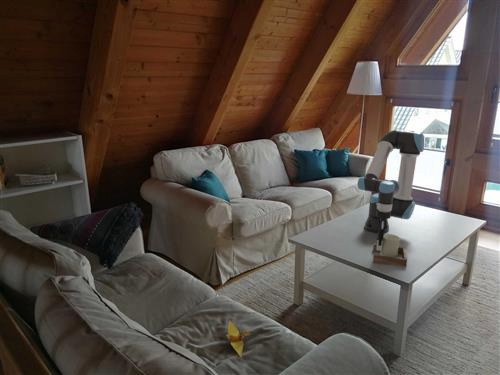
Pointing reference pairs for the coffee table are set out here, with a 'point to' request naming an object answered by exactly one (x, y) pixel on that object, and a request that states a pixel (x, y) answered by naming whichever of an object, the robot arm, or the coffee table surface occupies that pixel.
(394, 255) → the can
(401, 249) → the bay
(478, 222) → the coffee table surface
